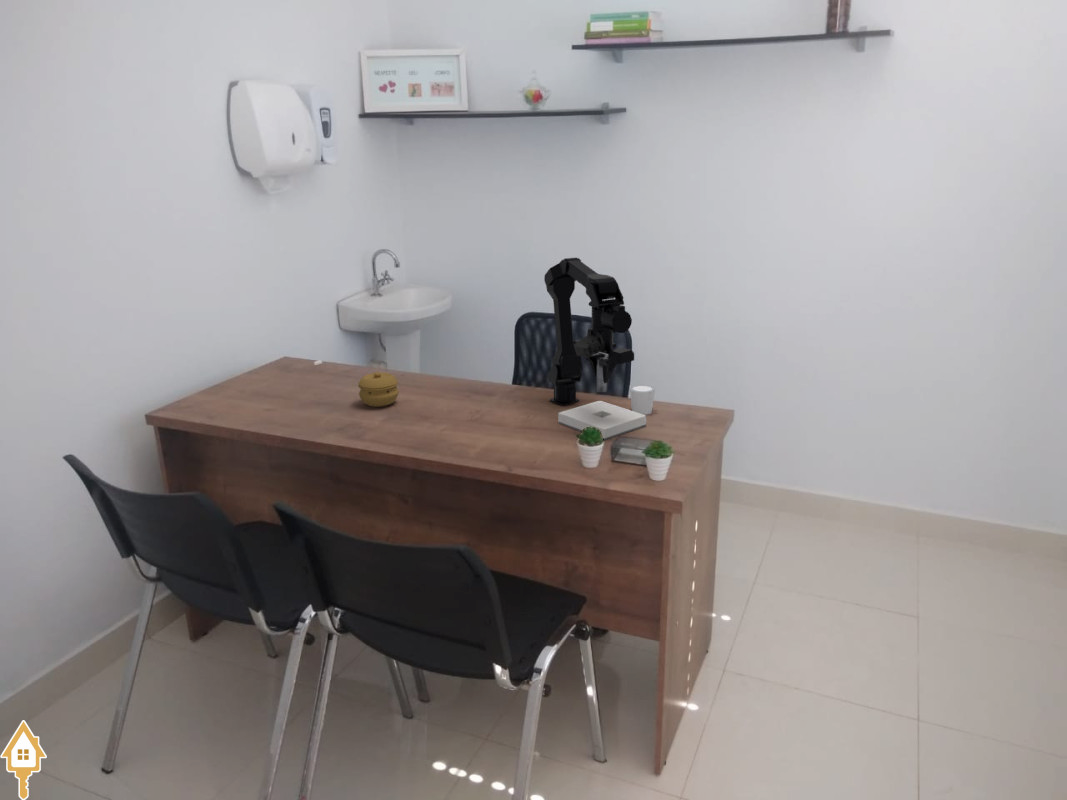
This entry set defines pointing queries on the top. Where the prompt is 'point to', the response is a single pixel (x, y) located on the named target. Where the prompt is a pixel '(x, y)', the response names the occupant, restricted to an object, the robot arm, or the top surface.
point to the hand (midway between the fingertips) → (601, 381)
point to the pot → (378, 389)
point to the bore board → (602, 419)
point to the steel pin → (600, 376)
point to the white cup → (642, 399)
